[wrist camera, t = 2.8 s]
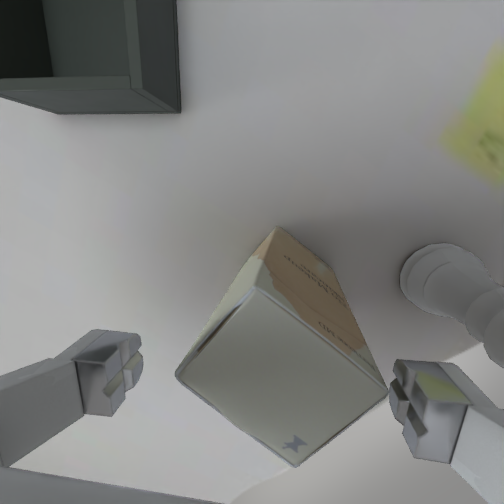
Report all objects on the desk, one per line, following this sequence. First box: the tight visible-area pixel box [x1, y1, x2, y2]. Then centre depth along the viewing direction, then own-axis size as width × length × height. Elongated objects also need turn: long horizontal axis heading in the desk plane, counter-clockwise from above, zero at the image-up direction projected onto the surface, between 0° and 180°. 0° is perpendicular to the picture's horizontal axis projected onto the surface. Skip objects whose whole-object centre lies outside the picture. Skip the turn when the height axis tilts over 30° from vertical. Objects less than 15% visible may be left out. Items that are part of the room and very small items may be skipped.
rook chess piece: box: [400, 243, 504, 368], centre depth 13 cm, size 4×4×8 cm
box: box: [175, 226, 389, 468], centre depth 13 cm, size 5×4×11 cm
